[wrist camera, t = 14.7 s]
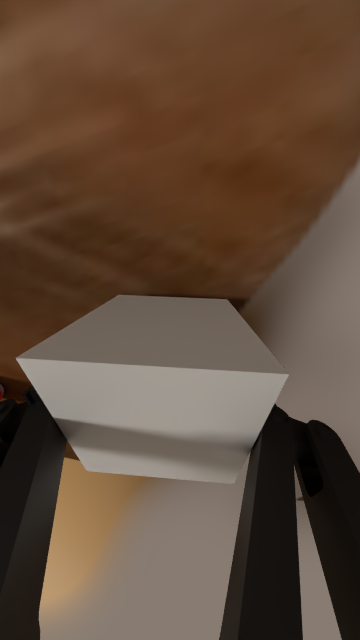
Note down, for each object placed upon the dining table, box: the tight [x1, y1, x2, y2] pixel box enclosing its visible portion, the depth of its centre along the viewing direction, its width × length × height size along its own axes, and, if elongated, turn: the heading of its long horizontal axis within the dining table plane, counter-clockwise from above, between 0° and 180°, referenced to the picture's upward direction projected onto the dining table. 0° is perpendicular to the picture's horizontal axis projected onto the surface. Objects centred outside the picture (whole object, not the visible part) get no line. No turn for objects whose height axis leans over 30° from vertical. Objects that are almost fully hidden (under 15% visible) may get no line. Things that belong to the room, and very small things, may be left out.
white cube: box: [16, 295, 289, 484], centre depth 11 cm, size 10×10×9 cm
